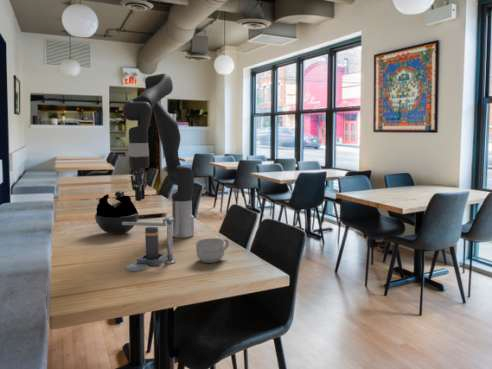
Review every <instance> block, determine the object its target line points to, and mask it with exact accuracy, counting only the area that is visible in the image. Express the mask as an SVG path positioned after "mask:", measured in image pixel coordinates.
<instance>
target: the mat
mask: <svg viewBox="0 0 492 369" xmlns="http://www.w3.org/2000/svg"><path fill="white" fill-rule="evenodd" d="M148 268H149V265H147V264H137V262H136V263H131V264H128V265H126V266H125V270H126V271H128V272H141V271H140V270H142V271H145V270H147V269H148ZM144 269H145V270H144Z"/></svg>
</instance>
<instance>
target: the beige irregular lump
mask: <svg viewBox="0 0 492 369" xmlns="http://www.w3.org/2000/svg"><path fill="white" fill-rule="evenodd" d="M114 196H115V198H118V197H119V196H121V197H122V196H125V191H119V190H118V191H116V192H115V193H114ZM121 203H122V202H120V201H117V202H116V203H112V204H111V205H112V206H114V207H115V208H116V207H117V206H118V205H119V204H121Z"/></svg>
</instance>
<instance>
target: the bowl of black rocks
mask: <svg viewBox="0 0 492 369" xmlns="http://www.w3.org/2000/svg"><path fill="white" fill-rule="evenodd" d="M109 197H110V195H109V194H105V195H103V197H101V198H99V199H98V203H97V205H96V209H95V210H96V212H95V215H94V219H95V221H96V223H97V225H98V226H99V228H100V229H101V230H102V231H104V232H105V233H107V234H110V235H115V236H117V235H118V236H119V235H123V234H126V233H128V232H130V231H131V230H132V229H133V228H134V227H135V225H122V222H138V219H139V215H140V213H139V212H138V210H137V208H136V205H135V203H134V202H132V198H131V197H130V196H129V195H125V194H124V196H119V197H118V198H116V197H114V199H115V200H116V201H117V202H122V203H121V204H119V205H118V206H117V207H116V208H115V207H114V206H112V204H111V203H109V201H108V199H109Z"/></svg>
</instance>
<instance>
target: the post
mask: <svg viewBox="0 0 492 369" xmlns="http://www.w3.org/2000/svg"><path fill="white" fill-rule="evenodd" d="M172 231H173V225H172V221H166V243H167V245H166V248H167V251H166V252H167V257H168V259H167V260H165V261H164V263H165V265H166V264H168V265H172V264H175V263H176V259H174V255H173V254H174V249H173V248H174V247H173V246H174V244H173V242H174V241H173V232H172Z"/></svg>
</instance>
